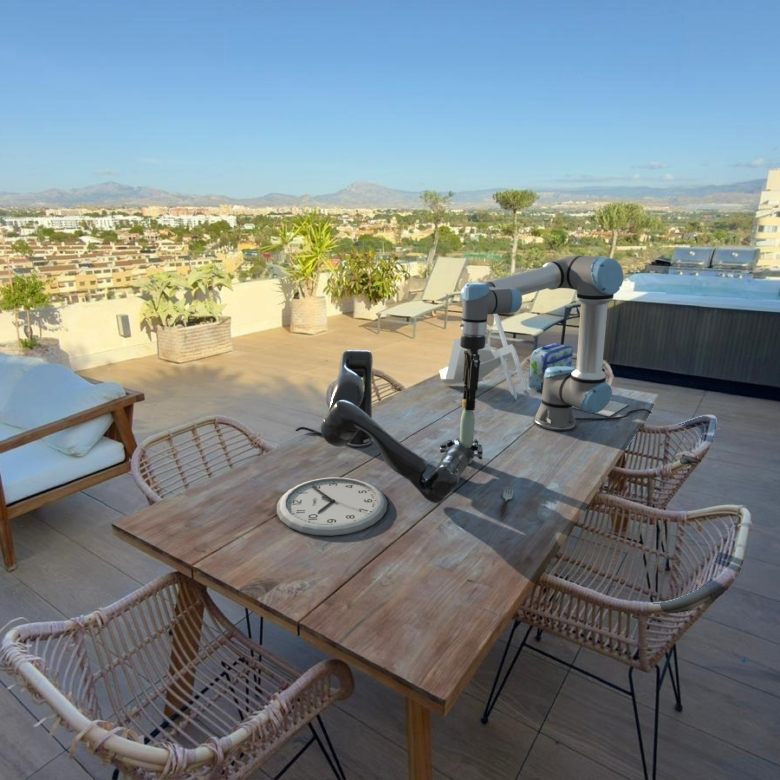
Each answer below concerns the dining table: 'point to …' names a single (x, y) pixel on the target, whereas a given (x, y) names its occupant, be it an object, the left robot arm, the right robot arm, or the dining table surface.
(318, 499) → the wall clock
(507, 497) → the fork
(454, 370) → the white plastic object
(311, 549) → the dining table surface
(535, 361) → the lunch box
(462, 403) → the cap
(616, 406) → the invitation card
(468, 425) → the bottle
